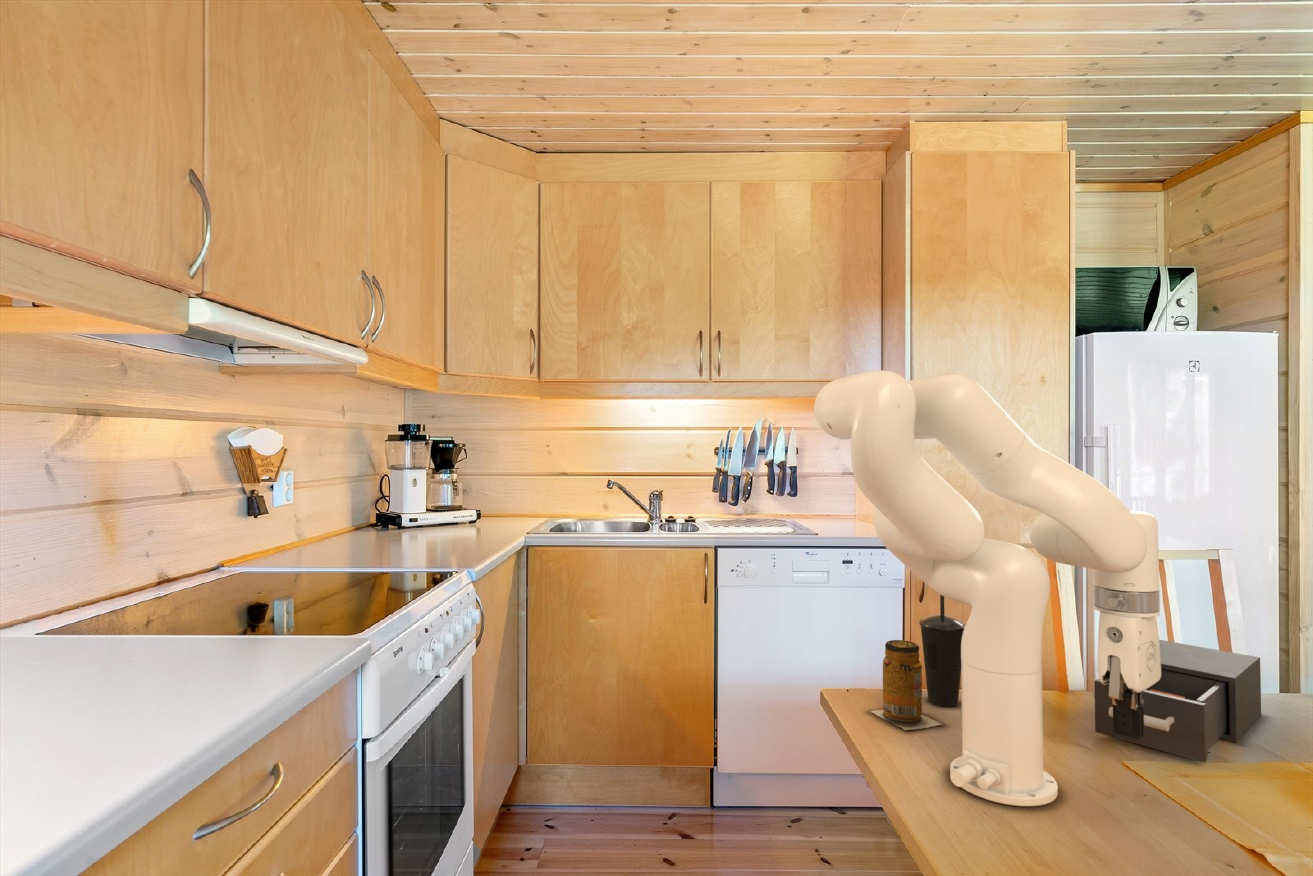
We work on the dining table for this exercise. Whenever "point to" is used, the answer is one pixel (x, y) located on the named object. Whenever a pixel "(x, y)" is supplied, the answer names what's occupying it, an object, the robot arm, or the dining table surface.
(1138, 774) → the dining table surface
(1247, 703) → the cabinet
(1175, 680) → the drawer
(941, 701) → the drinking cup
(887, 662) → the condiment
